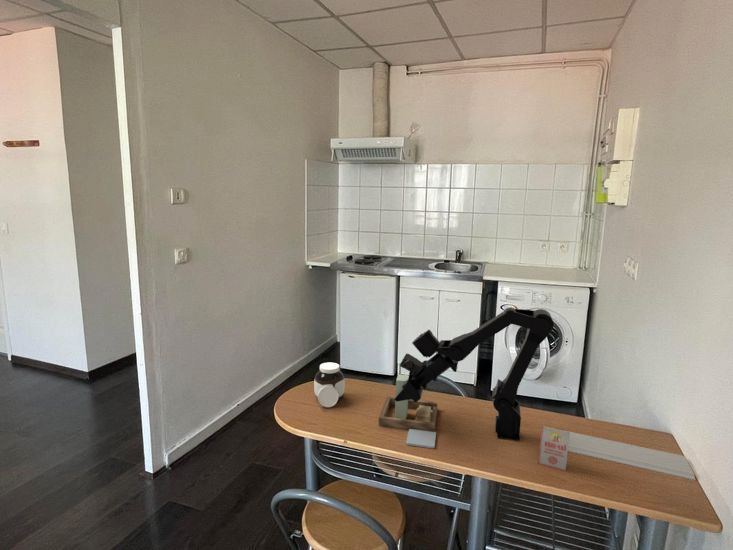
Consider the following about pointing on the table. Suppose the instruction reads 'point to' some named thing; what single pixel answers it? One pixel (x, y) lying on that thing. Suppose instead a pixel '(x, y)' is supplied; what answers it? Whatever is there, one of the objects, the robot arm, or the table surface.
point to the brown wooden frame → (405, 422)
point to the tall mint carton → (401, 406)
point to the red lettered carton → (553, 448)
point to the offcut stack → (423, 414)
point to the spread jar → (329, 384)
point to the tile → (421, 438)
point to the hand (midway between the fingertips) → (397, 396)
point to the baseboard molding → (630, 455)
